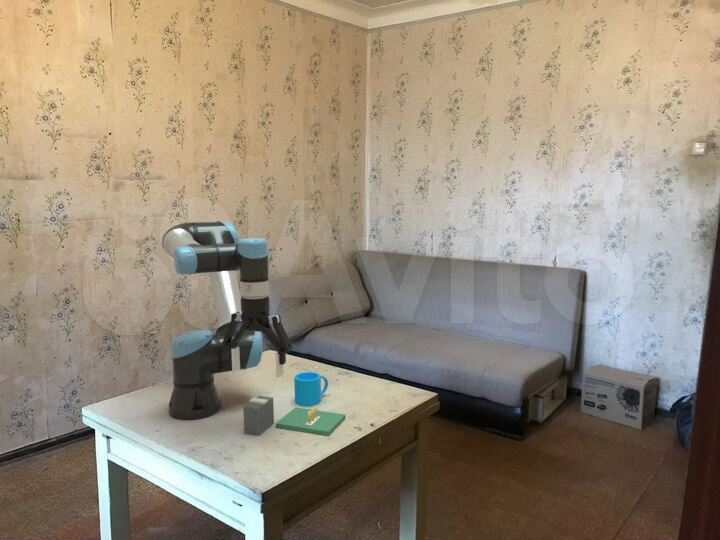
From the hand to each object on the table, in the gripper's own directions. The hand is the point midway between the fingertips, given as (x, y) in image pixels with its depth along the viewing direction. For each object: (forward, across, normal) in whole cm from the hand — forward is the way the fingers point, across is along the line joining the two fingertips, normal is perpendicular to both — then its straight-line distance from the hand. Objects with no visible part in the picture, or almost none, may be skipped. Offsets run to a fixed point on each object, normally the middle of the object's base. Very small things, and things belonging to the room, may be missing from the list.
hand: (257, 373), depth 148 cm
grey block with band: (+16, 0, 0) cm, 16 cm away
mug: (+16, +5, +24) cm, 29 cm away
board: (+16, +12, +8) cm, 21 cm away
